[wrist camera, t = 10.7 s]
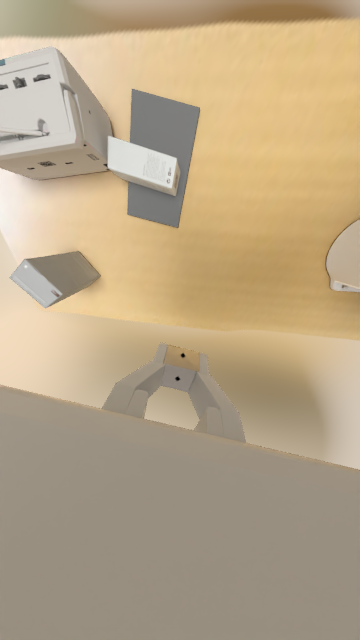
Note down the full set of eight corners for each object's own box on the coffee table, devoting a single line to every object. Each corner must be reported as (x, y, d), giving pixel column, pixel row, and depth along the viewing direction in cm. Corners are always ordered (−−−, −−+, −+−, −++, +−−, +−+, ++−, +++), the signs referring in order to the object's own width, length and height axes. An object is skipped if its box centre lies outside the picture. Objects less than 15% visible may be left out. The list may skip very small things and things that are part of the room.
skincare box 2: (177, 156, 25) (106, 133, 24) (172, 189, 27) (106, 168, 26) (181, 170, 30) (122, 152, 29) (176, 197, 32) (121, 180, 31)
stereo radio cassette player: (112, 115, 28) (-31, -82, 10) (123, 175, 32) (33, 104, 14) (16, 133, 30) (-226, -1, 13) (37, 186, 34) (-125, 138, 17)
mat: (199, 110, 26) (199, 107, 26) (177, 227, 35) (177, 227, 35) (133, 91, 26) (132, 88, 25) (128, 214, 35) (127, 214, 34)
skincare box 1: (66, 263, 43) (3, 277, 29) (81, 249, 40) (20, 256, 26) (88, 288, 46) (42, 311, 32) (104, 276, 43) (60, 295, 29)
